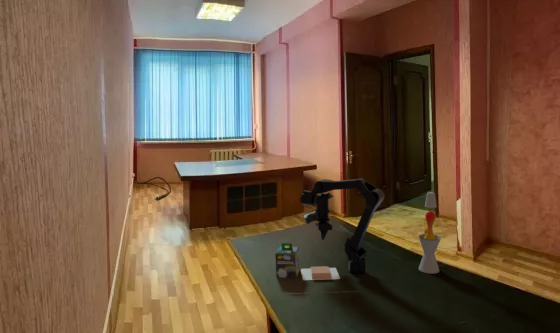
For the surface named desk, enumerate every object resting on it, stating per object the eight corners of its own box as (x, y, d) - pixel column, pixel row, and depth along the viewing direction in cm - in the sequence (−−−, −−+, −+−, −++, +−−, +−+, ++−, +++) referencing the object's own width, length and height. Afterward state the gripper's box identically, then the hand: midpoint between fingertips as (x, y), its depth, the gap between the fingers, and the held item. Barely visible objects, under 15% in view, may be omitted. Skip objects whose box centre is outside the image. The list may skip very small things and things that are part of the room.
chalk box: (299, 270, 171) (299, 239, 169) (296, 279, 162) (295, 246, 160) (279, 269, 173) (279, 238, 171) (275, 278, 164) (274, 245, 162)
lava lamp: (443, 273, 164) (446, 194, 160) (422, 274, 164) (424, 195, 160) (434, 265, 173) (437, 190, 169) (415, 265, 173) (416, 190, 169)
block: (328, 266, 168) (330, 272, 161) (328, 271, 168) (330, 278, 161) (310, 266, 168) (311, 273, 161) (310, 272, 168) (312, 279, 161)
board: (335, 268, 173) (335, 267, 173) (340, 279, 161) (340, 278, 161) (300, 269, 172) (300, 268, 172) (302, 281, 160) (302, 280, 160)
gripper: (303, 202, 183) (303, 233, 186) (306, 212, 165) (307, 247, 167) (326, 202, 184) (326, 233, 186) (332, 211, 165) (332, 246, 167)
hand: (322, 239), depth 176 cm, fingers closed
